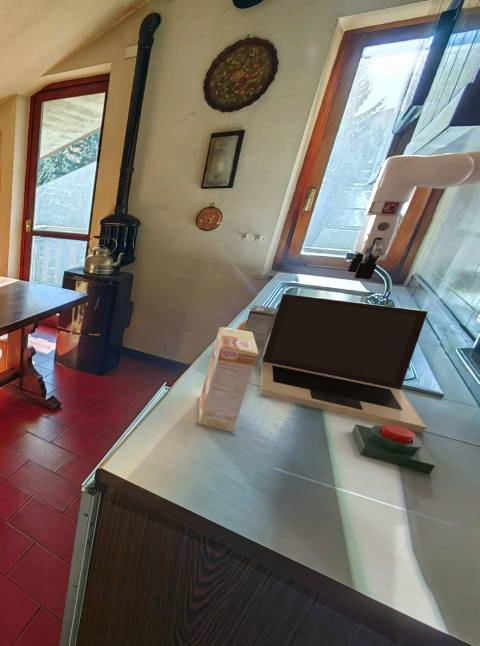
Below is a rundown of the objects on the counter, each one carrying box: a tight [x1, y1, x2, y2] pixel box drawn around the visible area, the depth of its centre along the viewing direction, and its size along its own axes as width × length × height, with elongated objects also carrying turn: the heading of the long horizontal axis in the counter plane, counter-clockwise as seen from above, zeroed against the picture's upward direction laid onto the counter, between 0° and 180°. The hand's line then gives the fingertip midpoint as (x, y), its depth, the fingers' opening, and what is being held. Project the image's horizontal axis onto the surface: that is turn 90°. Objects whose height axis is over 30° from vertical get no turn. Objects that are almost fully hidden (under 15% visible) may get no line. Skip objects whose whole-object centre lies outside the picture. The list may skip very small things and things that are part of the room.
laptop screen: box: [261, 293, 429, 391], centre depth 109 cm, size 21×30×1 cm
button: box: [381, 424, 416, 443], centre depth 79 cm, size 4×4×2 cm
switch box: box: [351, 423, 436, 475], centre depth 80 cm, size 10×10×4 cm
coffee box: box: [244, 305, 279, 365], centre depth 122 cm, size 9×6×16 cm
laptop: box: [259, 362, 427, 434], centre depth 102 cm, size 21×30×2 cm
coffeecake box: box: [198, 326, 259, 433], centre depth 90 cm, size 15×7×20 cm, turn 150°
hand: (358, 275), depth 107 cm, fingers open, 9 cm apart
